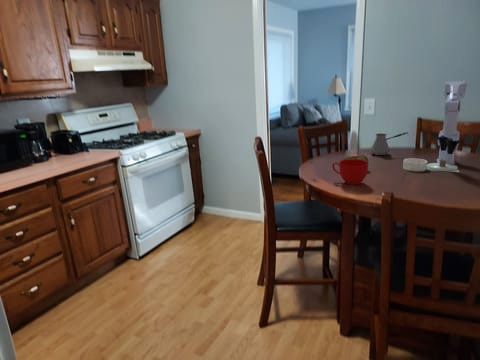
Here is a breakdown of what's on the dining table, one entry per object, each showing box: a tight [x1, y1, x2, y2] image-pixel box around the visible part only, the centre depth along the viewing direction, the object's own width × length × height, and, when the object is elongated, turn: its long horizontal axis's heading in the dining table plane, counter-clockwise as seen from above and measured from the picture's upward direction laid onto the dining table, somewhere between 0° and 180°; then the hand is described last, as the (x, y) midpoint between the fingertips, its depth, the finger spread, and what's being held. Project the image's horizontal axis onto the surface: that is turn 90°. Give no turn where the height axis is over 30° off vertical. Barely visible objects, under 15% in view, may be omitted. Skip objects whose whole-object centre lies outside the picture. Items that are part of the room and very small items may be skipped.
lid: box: [427, 159, 459, 172], centre depth 177 cm, size 14×14×4 cm
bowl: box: [402, 157, 428, 172], centre depth 178 cm, size 11×11×4 cm
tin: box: [342, 154, 369, 163], centre depth 180 cm, size 15×3×8 cm, turn 105°
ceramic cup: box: [331, 159, 369, 186], centre depth 161 cm, size 13×17×10 cm
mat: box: [426, 164, 460, 173], centre depth 178 cm, size 14×14×1 cm
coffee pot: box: [370, 131, 409, 156], centre depth 209 cm, size 21×12×15 cm, turn 52°
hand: (446, 152), depth 172 cm, fingers open, 7 cm apart
